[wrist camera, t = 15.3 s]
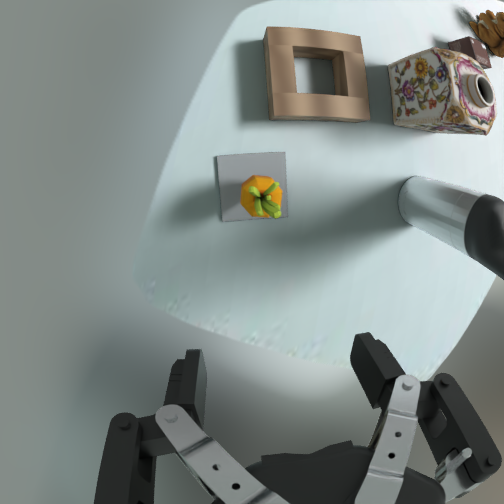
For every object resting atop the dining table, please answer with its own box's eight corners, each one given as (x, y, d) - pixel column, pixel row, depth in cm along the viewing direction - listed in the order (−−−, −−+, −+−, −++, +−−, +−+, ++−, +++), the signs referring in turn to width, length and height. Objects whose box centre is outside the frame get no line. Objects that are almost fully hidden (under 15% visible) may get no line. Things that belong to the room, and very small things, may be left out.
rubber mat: (284, 151, 38) (285, 151, 38) (286, 216, 42) (287, 216, 41) (217, 155, 38) (216, 155, 37) (222, 220, 42) (222, 221, 41)
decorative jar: (391, 125, 37) (465, 122, 21) (385, 64, 33) (451, 37, 16) (439, 134, 38) (510, 139, 21) (434, 78, 34) (500, 66, 17)
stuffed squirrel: (477, 13, 25) (509, 5, 12) (503, 59, 29) (536, 56, 17) (463, 16, 26) (497, 5, 14) (491, 65, 31) (528, 62, 18)
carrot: (233, 175, 39) (233, 189, 25) (265, 165, 38) (284, 173, 24) (243, 206, 40) (249, 237, 26) (275, 196, 40) (298, 221, 26)
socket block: (347, 46, 32) (360, 36, 27) (355, 122, 37) (370, 119, 32) (263, 39, 32) (266, 26, 27) (269, 120, 37) (274, 115, 32)
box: (454, 66, 32) (476, 61, 25) (447, 42, 30) (468, 35, 23) (470, 72, 32) (492, 68, 25) (463, 48, 30) (484, 43, 23)
